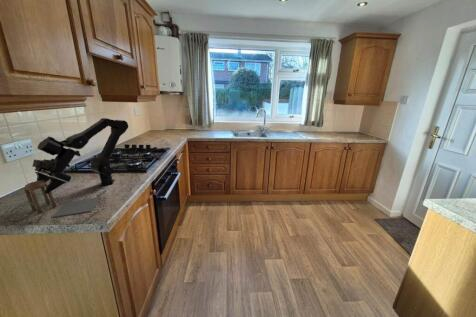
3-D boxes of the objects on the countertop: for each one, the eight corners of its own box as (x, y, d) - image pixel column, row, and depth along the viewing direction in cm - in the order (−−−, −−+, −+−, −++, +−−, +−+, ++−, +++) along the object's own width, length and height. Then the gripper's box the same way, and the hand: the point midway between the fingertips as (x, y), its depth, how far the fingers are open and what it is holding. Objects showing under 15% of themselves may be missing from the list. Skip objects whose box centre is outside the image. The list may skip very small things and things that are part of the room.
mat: (65, 203, 96) (65, 202, 96) (99, 198, 100) (99, 197, 100) (52, 217, 85) (52, 216, 85) (91, 211, 89) (91, 210, 89)
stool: (49, 203, 96) (40, 179, 92) (56, 206, 93) (48, 182, 89) (31, 210, 90) (22, 185, 86) (39, 214, 88) (29, 188, 84)
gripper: (33, 149, 93) (8, 180, 87) (55, 154, 85) (29, 189, 79) (58, 160, 102) (37, 189, 96) (80, 166, 94) (59, 197, 88)
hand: (40, 191), depth 90 cm, fingers open, 9 cm apart
